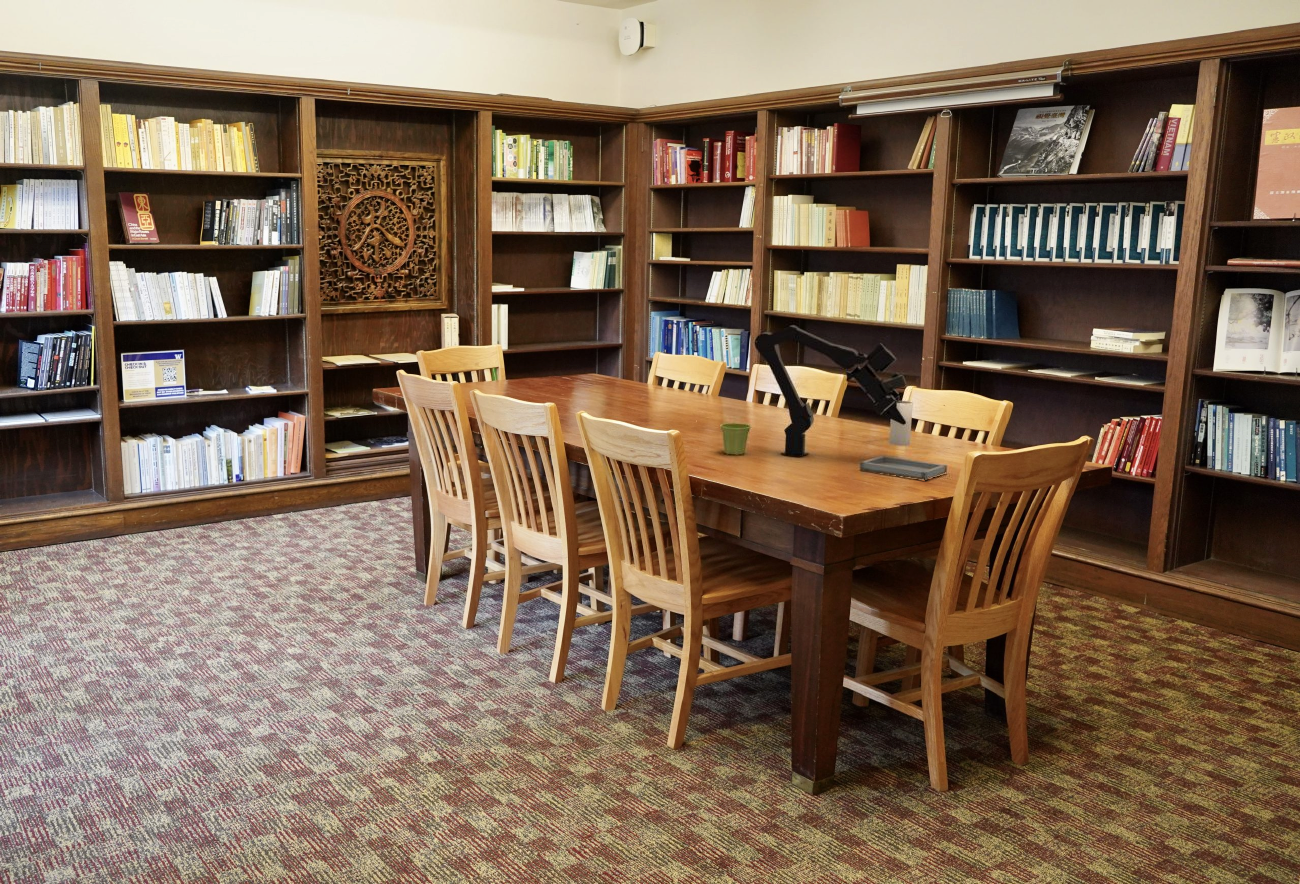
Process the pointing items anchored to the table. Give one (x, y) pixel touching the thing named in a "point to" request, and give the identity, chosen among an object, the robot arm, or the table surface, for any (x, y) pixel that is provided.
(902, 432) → the pencil cup
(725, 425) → the plant pot
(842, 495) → the table surface
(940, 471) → the tray
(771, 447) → the table surface
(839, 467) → the table surface
